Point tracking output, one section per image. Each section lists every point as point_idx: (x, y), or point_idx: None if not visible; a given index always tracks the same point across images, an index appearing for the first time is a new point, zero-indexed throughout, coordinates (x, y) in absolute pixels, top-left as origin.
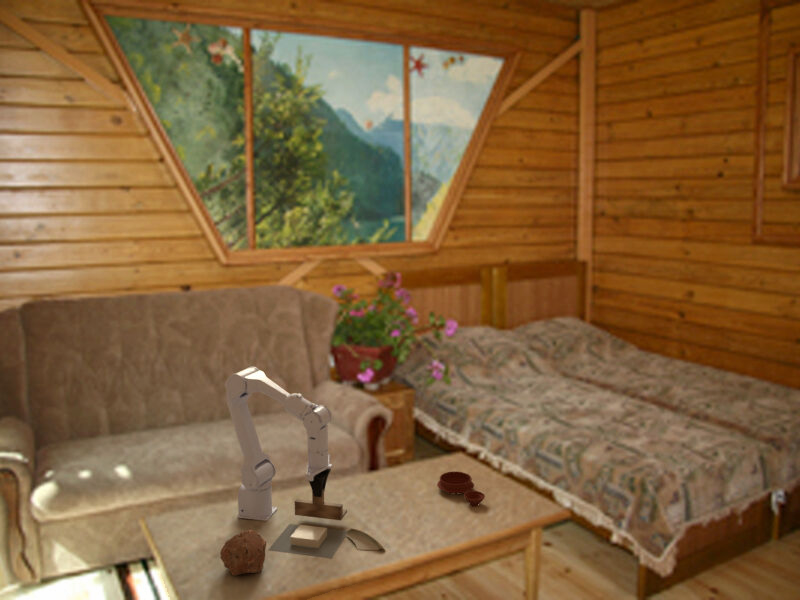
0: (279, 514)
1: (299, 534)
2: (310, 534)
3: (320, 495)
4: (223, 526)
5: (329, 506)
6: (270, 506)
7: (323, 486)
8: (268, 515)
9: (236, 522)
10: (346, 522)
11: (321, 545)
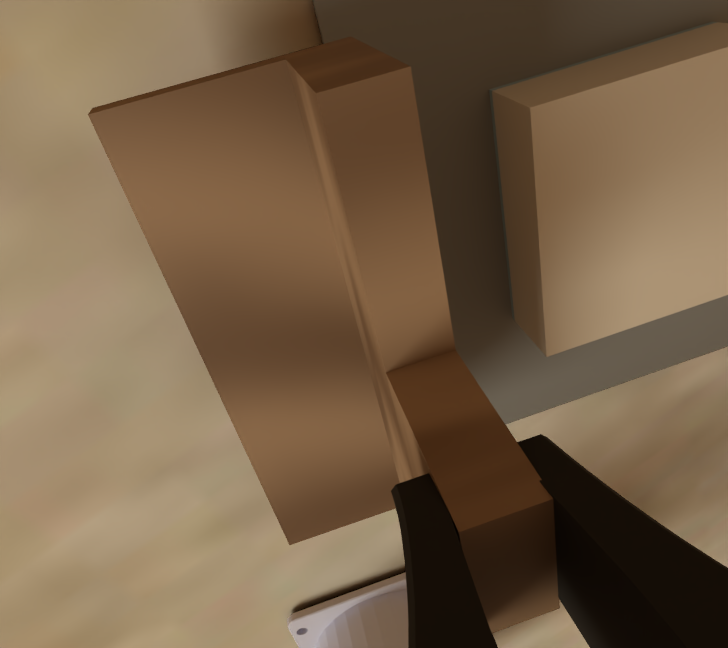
0: (333, 567)
1: (697, 256)
2: (688, 173)
3: (560, 451)
4: (563, 631)
5: (435, 252)
6: (391, 644)
7: (472, 584)
8: (401, 590)
9: (510, 627)
10: (127, 85)
11: (656, 32)
